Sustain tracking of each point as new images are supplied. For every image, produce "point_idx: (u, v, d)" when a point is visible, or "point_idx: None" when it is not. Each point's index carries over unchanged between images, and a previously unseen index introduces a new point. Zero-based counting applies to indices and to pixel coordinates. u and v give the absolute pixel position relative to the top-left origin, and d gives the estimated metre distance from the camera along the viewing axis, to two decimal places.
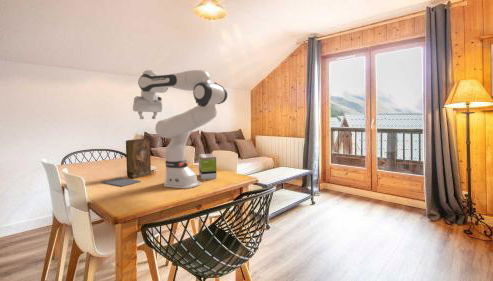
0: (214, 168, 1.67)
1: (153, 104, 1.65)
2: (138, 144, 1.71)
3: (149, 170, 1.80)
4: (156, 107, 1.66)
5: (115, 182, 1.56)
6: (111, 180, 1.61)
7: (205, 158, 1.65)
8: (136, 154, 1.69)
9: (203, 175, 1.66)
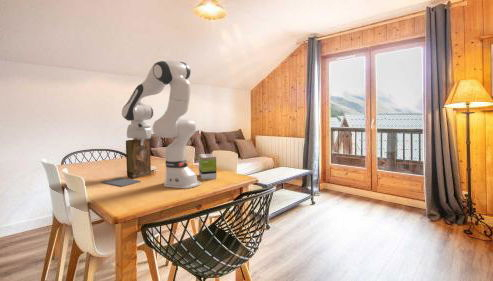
0: (214, 168, 1.67)
1: (139, 131, 1.71)
2: (138, 144, 1.71)
3: (149, 170, 1.80)
4: (141, 133, 1.70)
5: (115, 182, 1.56)
6: (111, 180, 1.61)
7: (205, 158, 1.65)
8: (136, 154, 1.69)
9: (203, 175, 1.66)
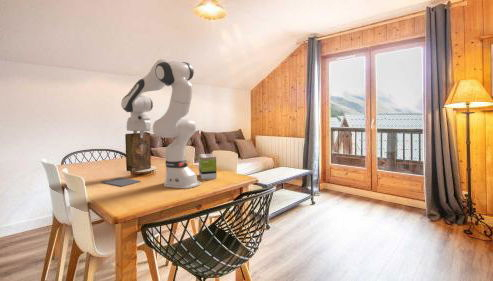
0: (214, 168, 1.67)
1: (139, 123, 1.70)
2: (137, 138, 1.70)
3: (149, 164, 1.79)
4: (140, 126, 1.69)
5: (115, 182, 1.56)
6: (111, 180, 1.61)
7: (205, 158, 1.65)
8: (135, 148, 1.69)
9: (203, 175, 1.66)
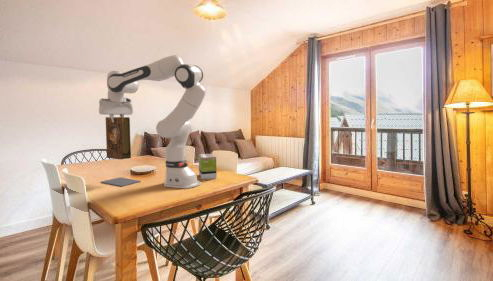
0: (214, 168, 1.67)
1: (122, 106, 1.57)
2: None
3: None
4: (125, 109, 1.59)
5: (115, 182, 1.56)
6: (111, 180, 1.61)
7: (205, 158, 1.65)
8: None
9: (203, 175, 1.66)
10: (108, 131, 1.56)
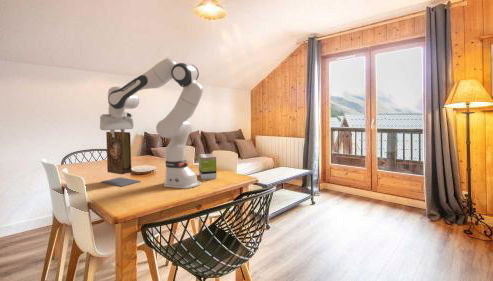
0: (214, 168, 1.67)
1: (122, 121, 1.58)
2: None
3: None
4: (126, 123, 1.60)
5: (115, 182, 1.56)
6: (111, 180, 1.61)
7: (205, 158, 1.65)
8: None
9: (203, 175, 1.66)
10: (109, 146, 1.57)
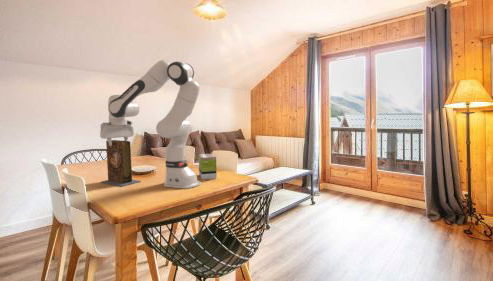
0: (214, 168, 1.67)
1: (123, 129, 1.58)
2: None
3: None
4: (126, 131, 1.60)
5: (115, 182, 1.56)
6: None
7: (205, 158, 1.65)
8: None
9: (203, 175, 1.66)
10: (109, 155, 1.57)
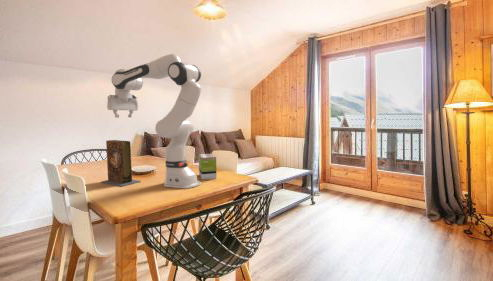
0: (214, 168, 1.67)
1: (128, 102, 1.67)
2: None
3: None
4: (131, 105, 1.69)
5: (115, 182, 1.56)
6: None
7: (205, 158, 1.65)
8: None
9: (203, 175, 1.66)
10: (109, 155, 1.57)
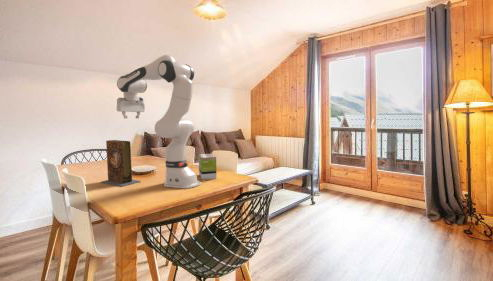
0: (214, 168, 1.67)
1: (135, 104, 1.80)
2: None
3: None
4: (138, 107, 1.81)
5: (115, 182, 1.56)
6: None
7: (205, 158, 1.65)
8: None
9: (203, 175, 1.66)
10: (109, 155, 1.57)
